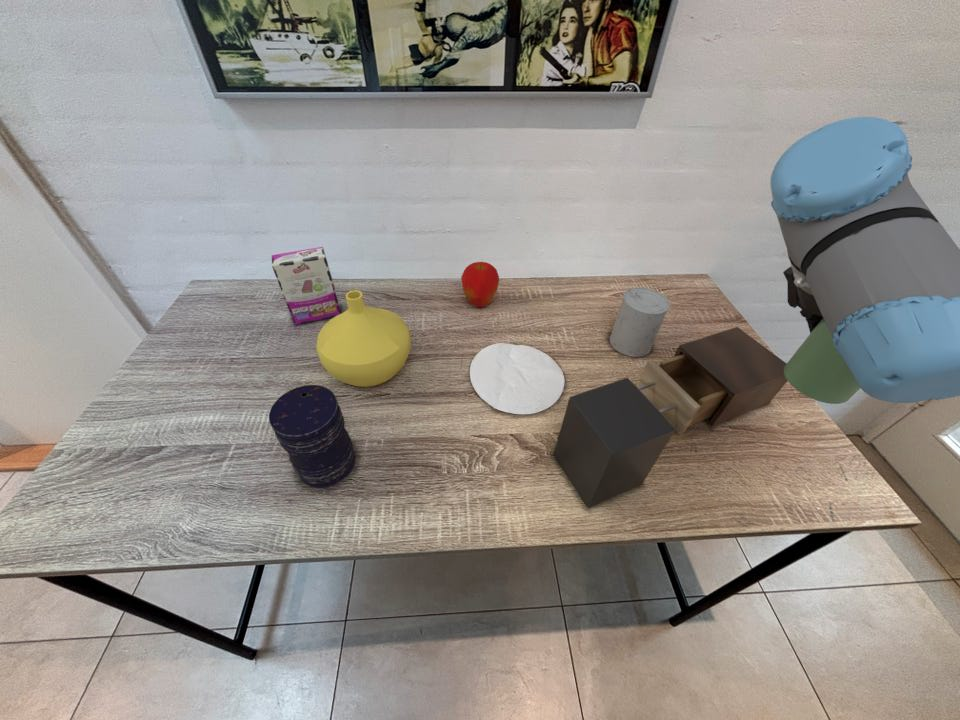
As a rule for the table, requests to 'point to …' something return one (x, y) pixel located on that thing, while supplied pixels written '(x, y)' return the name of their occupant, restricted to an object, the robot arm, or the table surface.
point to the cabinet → (737, 371)
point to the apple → (480, 283)
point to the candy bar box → (306, 285)
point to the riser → (610, 440)
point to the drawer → (681, 391)
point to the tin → (821, 369)
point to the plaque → (516, 378)
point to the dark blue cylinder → (313, 435)
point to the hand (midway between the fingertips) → (852, 356)
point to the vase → (363, 344)
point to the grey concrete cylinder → (638, 321)
